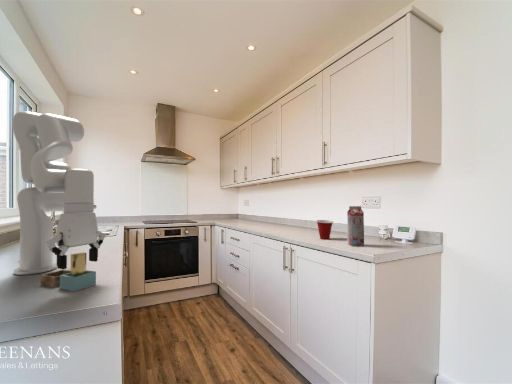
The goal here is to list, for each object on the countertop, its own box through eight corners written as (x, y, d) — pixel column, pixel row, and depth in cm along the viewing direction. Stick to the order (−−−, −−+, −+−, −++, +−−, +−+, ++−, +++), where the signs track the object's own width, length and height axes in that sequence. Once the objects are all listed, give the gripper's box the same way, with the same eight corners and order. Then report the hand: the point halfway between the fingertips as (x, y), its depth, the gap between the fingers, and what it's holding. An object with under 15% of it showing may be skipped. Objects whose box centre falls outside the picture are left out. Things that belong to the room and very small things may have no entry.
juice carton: (364, 246, 139) (363, 206, 140) (352, 246, 140) (351, 206, 140) (359, 244, 146) (358, 206, 147) (347, 244, 146) (347, 206, 147)
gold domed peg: (67, 287, 77) (67, 254, 77) (80, 283, 81) (80, 252, 81) (75, 289, 76) (76, 255, 76) (89, 285, 79) (89, 253, 80)
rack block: (59, 288, 76) (59, 275, 76) (82, 281, 82) (82, 269, 83) (74, 291, 74) (74, 277, 74) (95, 284, 80) (95, 271, 80)
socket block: (40, 284, 80) (40, 275, 80) (63, 278, 86) (63, 269, 86) (53, 287, 77) (53, 277, 78) (76, 280, 84) (76, 271, 84)
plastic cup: (324, 240, 158) (324, 221, 159) (313, 238, 168) (312, 220, 168) (337, 239, 164) (337, 220, 164) (325, 237, 173) (324, 219, 173)
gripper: (97, 207, 88) (97, 257, 88) (39, 210, 72) (38, 270, 72) (112, 207, 85) (112, 259, 85) (55, 210, 69) (54, 273, 69)
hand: (78, 264), depth 78 cm, fingers open, 9 cm apart
